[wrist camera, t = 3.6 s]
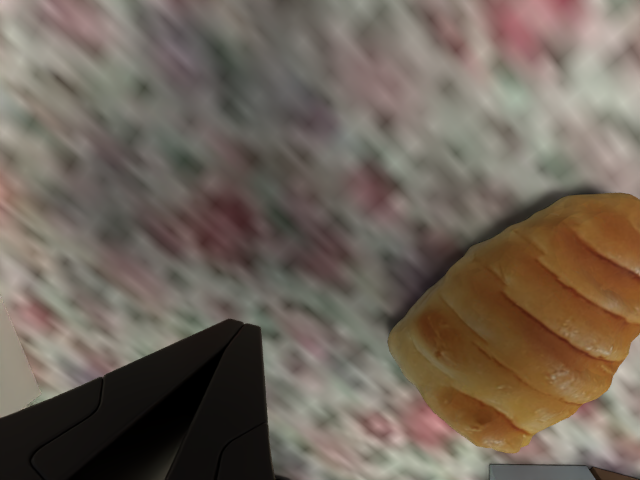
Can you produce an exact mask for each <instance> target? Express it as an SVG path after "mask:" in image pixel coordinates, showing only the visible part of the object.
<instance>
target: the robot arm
mask: <svg viewBox="0 0 640 480" xmlns="http://www.w3.org/2000/svg"><path fill="white" fill-rule="evenodd" d="M0 480H278V479H275V476H274V470H273V465H272V458H271V449H270V441H269V428H268V417H267V403H266V389H265V376H264V362H263V348H262V334H261V327H259V326H256V325H252V324H248V323H246V324H244V323H243V322H241V321H237V320H233V319H227V320H225V321H222V322H220V323H218V324H216V325H214V326H211V327H209V328H207V329H205V330H203V331H200V332H198V333H196V334H194V335H192V336H189V337H187V338H185V339H183V340H181V341H178V342H176V343H174V344H172V345H170V346H167V347H165V348H163V349H161V350H159V351H156V352H154V353H152V354H150V355H148V356H145V357H143V358H141V359H139V360H136V361H134V362H132V363H130V364H128V365H125V366H123V367H121V368H119V369H117V370H114V371H112V372H110V373H108V374H106V375H104V377H103V378H102V377H99V378H97V379H94V380H92V381H90V382H88V383H85V384H83V385H81V386H79V387H76V388H74V389H72V390H69V391H67V392H65V393H62V394H60V395H58V396H55V397H53V398H51V399H48V400H46V401H43V402H40V403H38V404H35V405H33V406H30V407H28V408H25V409H23V410H20V411H17V412H15V413H12V414H10V415H7V416H4V417H1V418H0Z"/></svg>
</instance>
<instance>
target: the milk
mask: <svg viewBox="0 0 640 480" xmlns="http://www.w3.org/2000/svg"><path fill="white" fill-rule="evenodd" d="M41 394H42V393H41V391H40V388H39V386H38V384H37V381H36V379H35V376H34V374H33V372H32V369H31V367H30V365H29V362H28V360H27V357H26V355H25V353H24V350H23V348H22V345H21V343H20V341H19V338H18V336H17V333H16V331H15V329H14V326H13V324H12V321H11V319H10V317H9V314H8V312H7V309H6V307H5V305H4V302H3V300H2V297H1V295H0V418H1V417H4V416H7V415H10V414H12V413H15V412H17V411H19V410H21V409H22V408H23V407H25V406H26V405H27V404H29V403H30V402H32V401H33V400H34V399H36V398H37V397H38V396H40V395H41Z"/></svg>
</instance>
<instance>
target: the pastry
mask: <svg viewBox="0 0 640 480" xmlns="http://www.w3.org/2000/svg"><path fill="white" fill-rule="evenodd" d="M639 333H640V200H639V199H638V198H636V197H634V196H632V195H630V194H625V193H604V194H584V195H570V196H566V197H562V198H561V199H559V200H557V201H556V202H555V203H553V204H552V205H550V206H549V207H547V208H546V209H543V210H541V211H538V212H536V213H534V214H533V215H532V216H531V217H530V218H528V219H527V220H525V221H523V222H520V223H517V224H514V225H511V226H509V227H508V228H506V229H505V230H504V231H502V232H501V233H500V234H498V235H496V236H495V237H493V238H491V239H489V240H486V241H483V242H481V243H478V244H475V245H473V246H471V247H470V248H469V249H468V251H467V252H466V254H465V256H464V257H463V258H461V259H460V260H458V261H457V262H456V263H455V264H454V265H453V266H452V267H451V268H450V269H449V270H448V271H447V273H446V275H445V276H443V277H442V278H441V279H440V280H439V281H438V282H437V283H436V284H434V285H433V286H432V287H430V288H429V289H428V290H427V291H426V292H425V293H424V294H423V295H422V296H421V297H420V298H419V299H418V301H417V302H416V303H415V304H414V305H413V306H412V307H411V308H410V309H409V311H408V312H407V314H406V316H405V317H404V318H403V319H402V320H400V321H399V322H398V323H397V324H396V326H395V327H394V328H393V329H392V331H391V332H390V334H389V337H388V346H389V350H390V352H391V354H392V356H393V358H394V359H395V361H396V362H397V364H398V366H399V367H400V368H401V370H402V373H403V374H404V376H405V377H406V378H407V379H408V380H409V381H410V382H411V383H412V384H414V385H415V386H416V387H417V389H418V390H419V392H420V393H421V395H422V397H423V399H424V400H425V402H426V403H427V404H428V406H429V407H430V408H431V409H432V411H433V412H434V413H435V414H437V415H438V416H439V417H440V418H441V419H443V420H444V421H445V422H446V423H447V424H448V425H449V426H450V427H452V428H453V429H454V430H456V431H457V432H458V433H459V434H461V435H462V436H464V437H465V438H466V439H468V440H469V441H470V442H472V443H473V444H475V445H476V446H479V447H485V448H493V449H494V450H497V451H501V452H505V453H517V452H519V450H520V448H521V447H524V446H526V445H528V444H529V443H530V440H531V438H532V436H533V435H535V434H536V433H537V432H539V431H541V430H544V429H545V428H547V427H549V426H551V425H554V424H556V423H558V422H559V421H561V420H564V419H566V418H568V417H570V416H571V415H573V414H574V413H575V412H576V411H577V409H578V408H579V407H580V406H581V405H582V404H584V403H586V402H589V401H592V400H594V399H597V398H598V397H600V396H601V395H602V394H603V393H605V392H606V391H607V390H608V389H609V387H610V385H611V383H612V378H613V375H614V374H615V372H616V371H617V369H618V367H619V365H620V364H621V363H622V362H623V361H624V359H625V358H626V357H627V355H628V353H629V349H630V344H631V342H632V341H633V340H634V339H635V338H636V337H637V336H638V335H639Z"/></svg>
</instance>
